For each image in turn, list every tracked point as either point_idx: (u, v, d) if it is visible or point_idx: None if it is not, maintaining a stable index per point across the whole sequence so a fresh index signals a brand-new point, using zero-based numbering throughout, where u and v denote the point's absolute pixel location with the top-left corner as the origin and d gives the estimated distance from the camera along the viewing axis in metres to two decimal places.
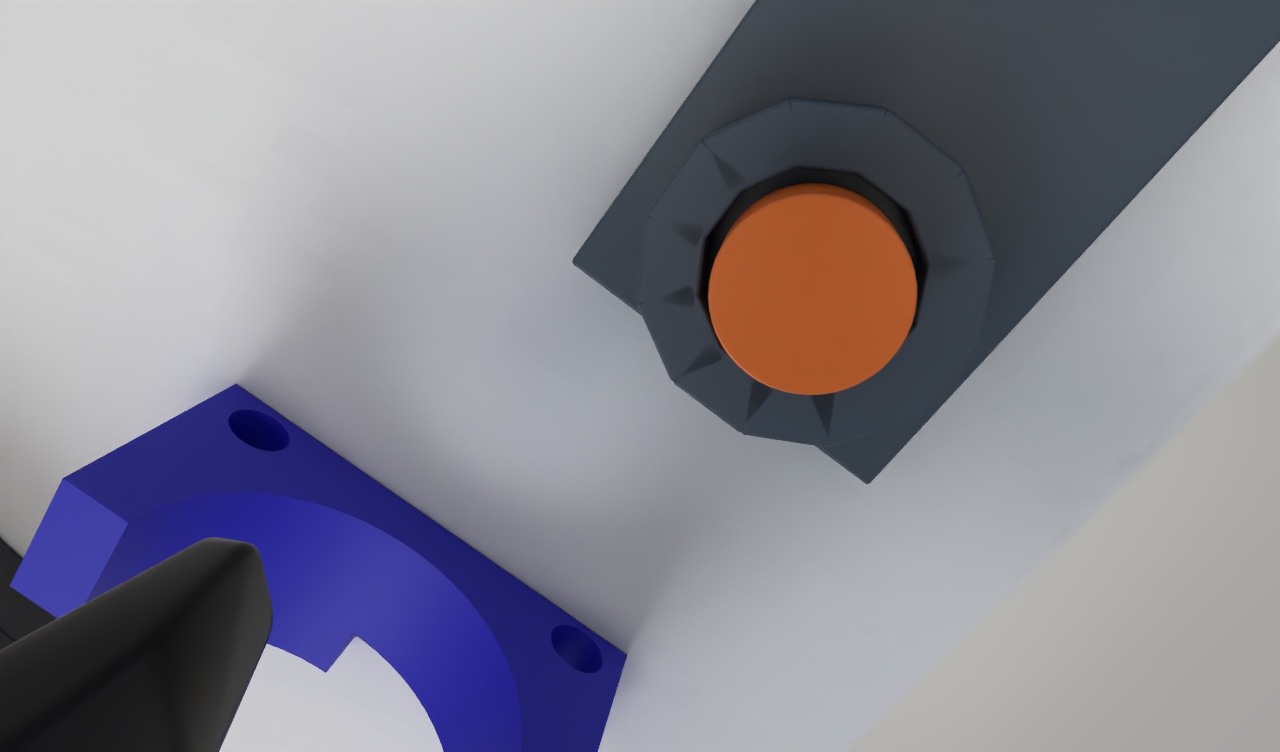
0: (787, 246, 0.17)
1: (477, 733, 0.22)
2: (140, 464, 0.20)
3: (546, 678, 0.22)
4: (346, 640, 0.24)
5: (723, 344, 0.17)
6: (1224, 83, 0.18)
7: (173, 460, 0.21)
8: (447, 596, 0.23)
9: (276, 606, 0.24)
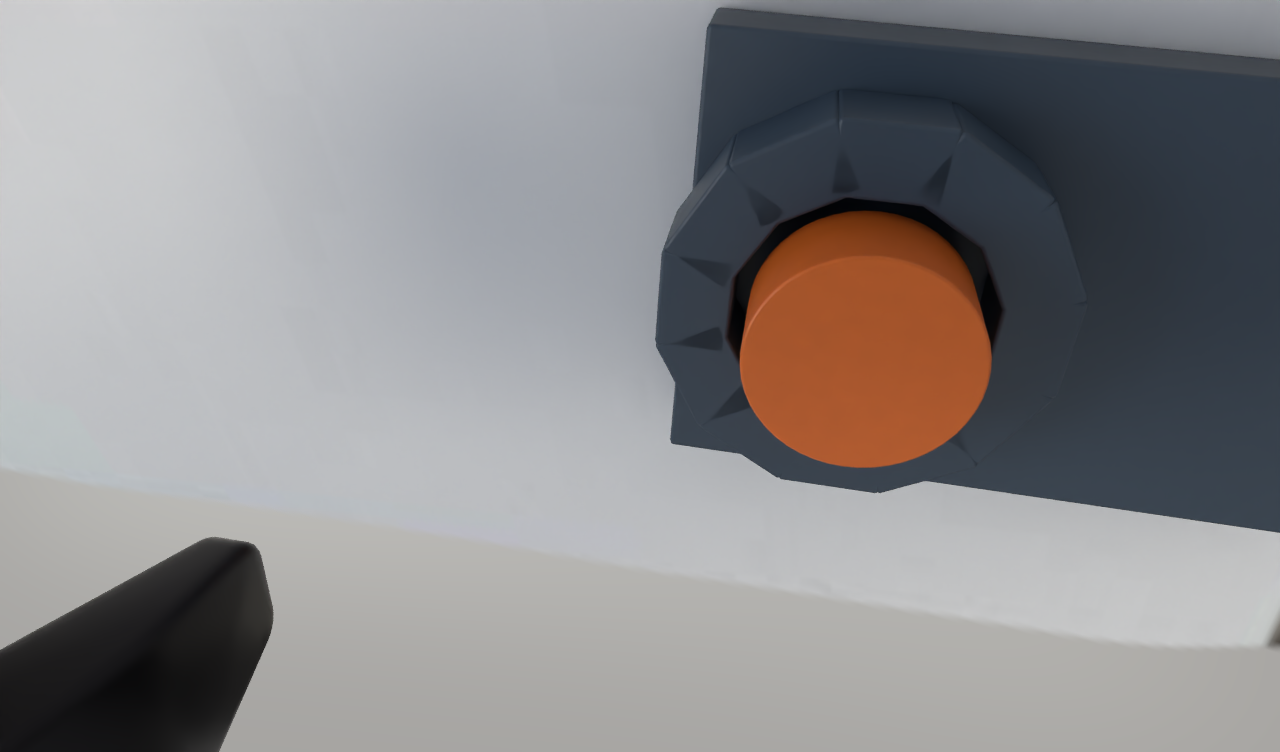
0: (906, 320, 0.14)
1: None
2: None
3: None
4: None
5: (757, 313, 0.14)
6: (1212, 513, 0.18)
7: None
8: None
9: None
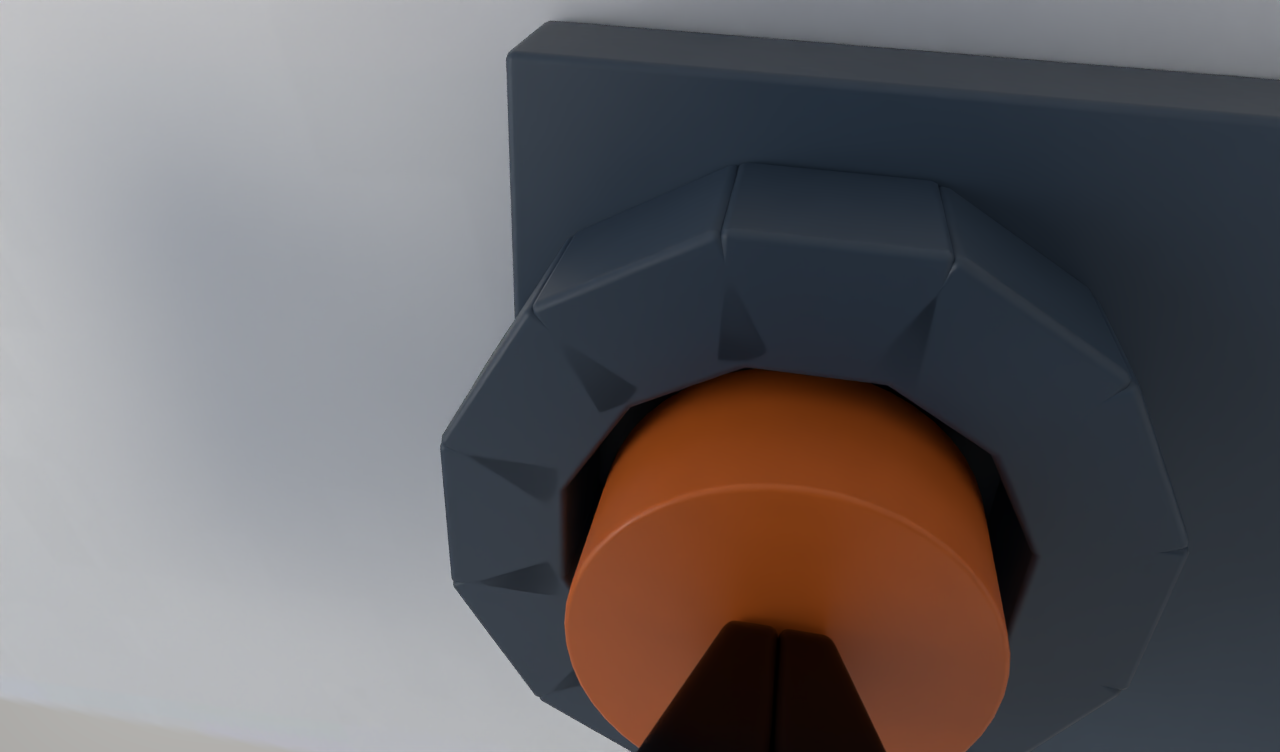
0: (851, 593, 0.07)
1: None
2: None
3: None
4: None
5: (584, 569, 0.08)
6: None
7: None
8: None
9: None
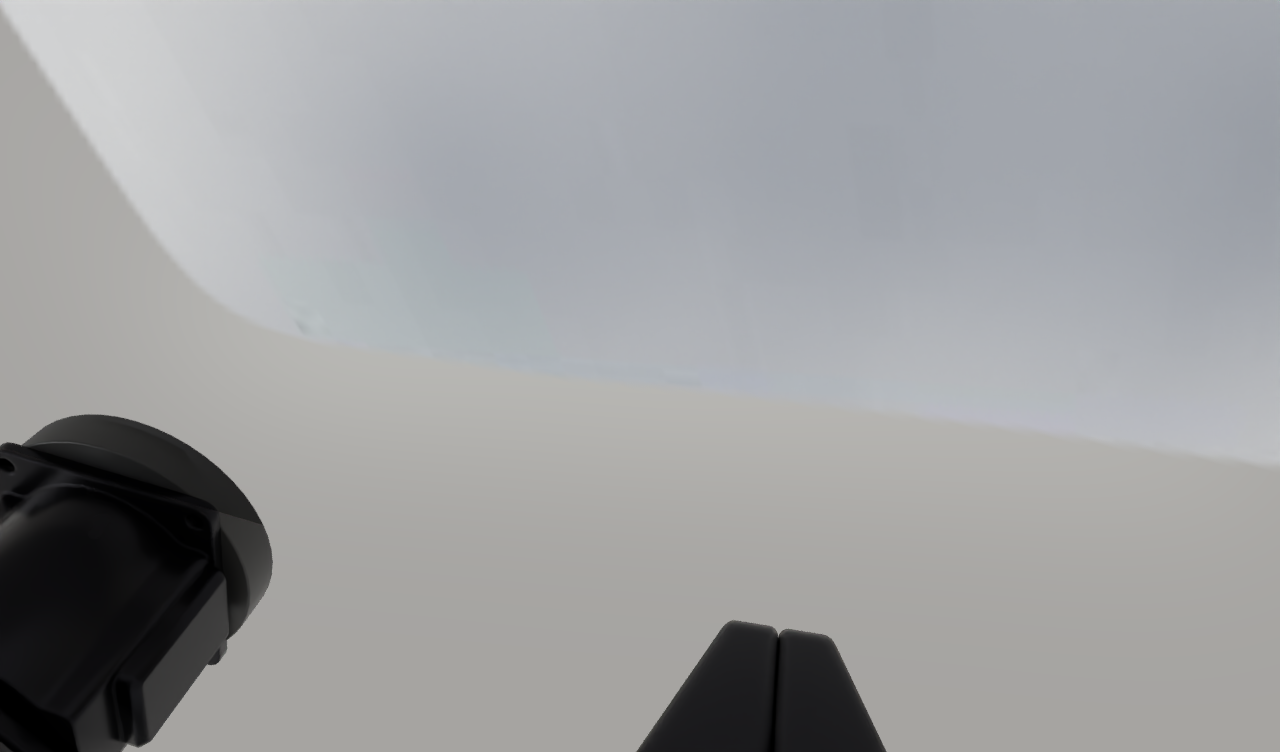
0: None
1: None
2: None
3: None
4: None
5: None
6: None
7: None
8: None
9: None
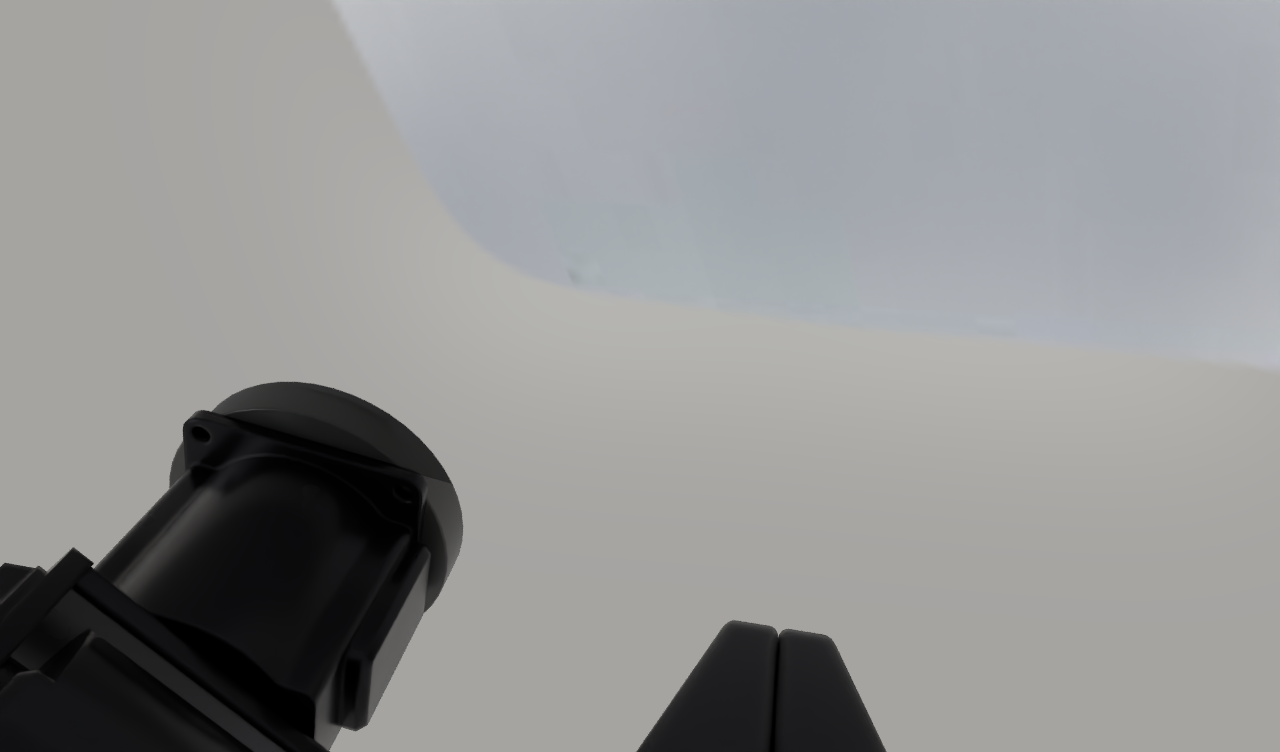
0: None
1: None
2: None
3: None
4: None
5: None
6: None
7: None
8: None
9: None
